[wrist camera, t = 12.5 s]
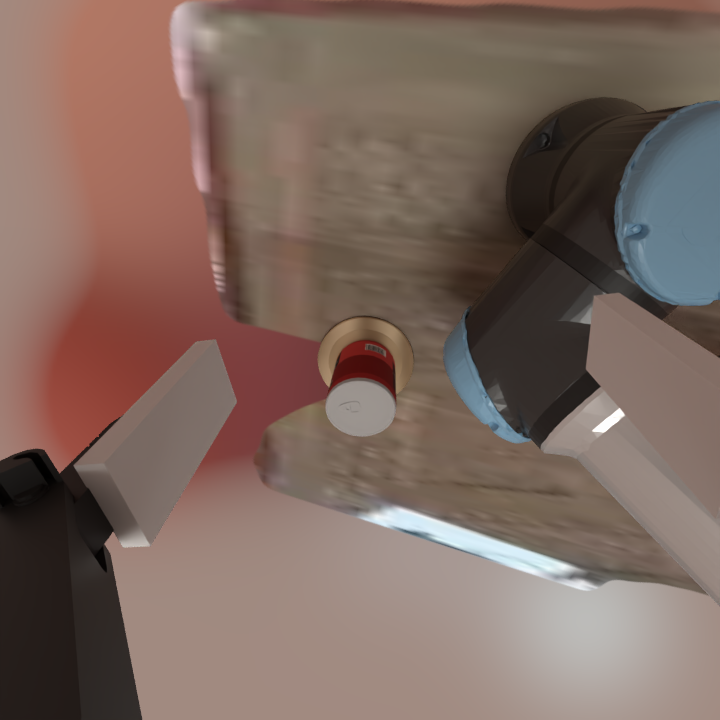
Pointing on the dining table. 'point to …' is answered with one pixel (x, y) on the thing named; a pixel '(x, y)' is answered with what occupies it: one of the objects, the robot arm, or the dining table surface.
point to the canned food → (362, 389)
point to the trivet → (366, 330)
